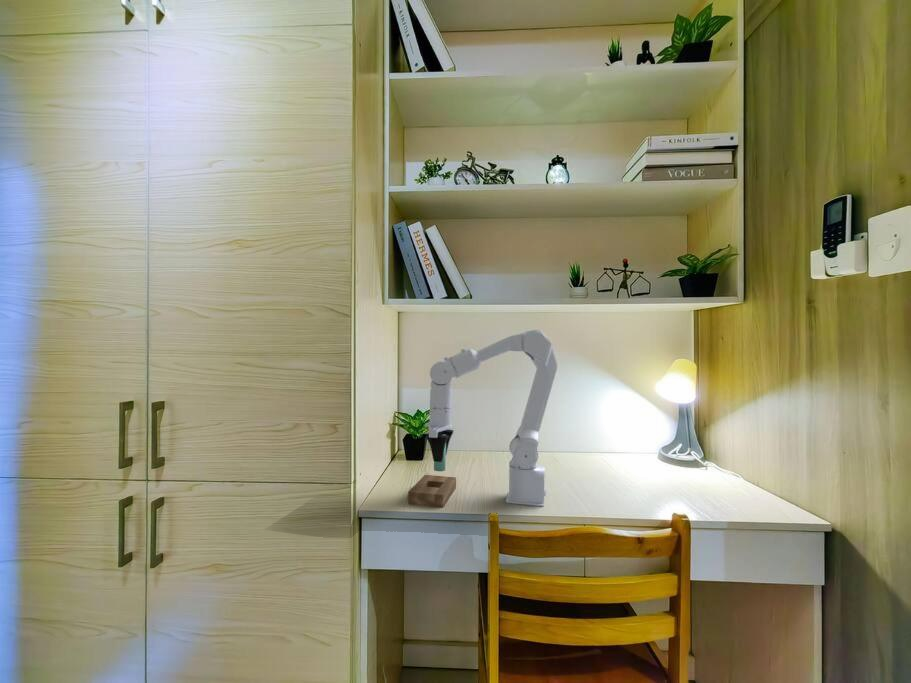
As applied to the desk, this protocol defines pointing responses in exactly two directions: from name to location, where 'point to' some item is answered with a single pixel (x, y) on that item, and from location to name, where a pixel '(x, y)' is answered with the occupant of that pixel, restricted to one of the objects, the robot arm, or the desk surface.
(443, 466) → the peg
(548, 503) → the desk surface
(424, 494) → the hole block
